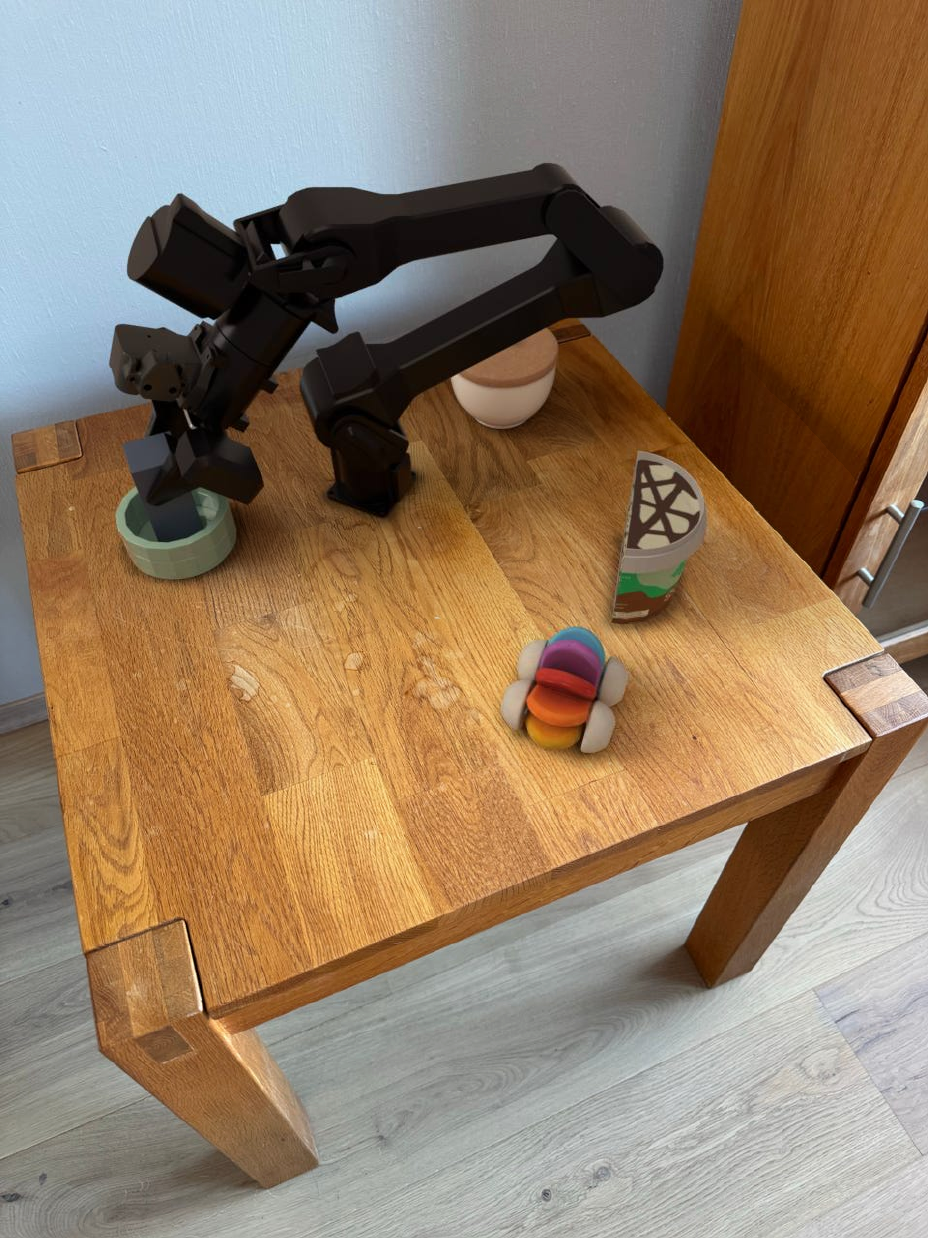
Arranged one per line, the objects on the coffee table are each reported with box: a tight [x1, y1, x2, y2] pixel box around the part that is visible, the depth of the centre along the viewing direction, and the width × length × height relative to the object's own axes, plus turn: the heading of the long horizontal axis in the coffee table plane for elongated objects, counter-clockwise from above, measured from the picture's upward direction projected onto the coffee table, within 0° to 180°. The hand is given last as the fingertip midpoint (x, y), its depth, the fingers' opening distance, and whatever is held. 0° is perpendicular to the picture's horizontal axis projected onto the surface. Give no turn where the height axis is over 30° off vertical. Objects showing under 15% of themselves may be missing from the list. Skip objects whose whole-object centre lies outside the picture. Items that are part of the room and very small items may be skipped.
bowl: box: [115, 485, 238, 581], centre depth 82 cm, size 10×10×4 cm
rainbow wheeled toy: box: [500, 625, 630, 754], centre depth 68 cm, size 8×10×7 cm
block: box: [121, 431, 203, 542], centre depth 79 cm, size 4×4×10 cm
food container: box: [610, 450, 708, 625], centre depth 75 cm, size 12×6×10 cm, turn 168°
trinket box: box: [450, 327, 559, 430], centre depth 91 cm, size 11×11×9 cm
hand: (146, 486), depth 77 cm, fingers closed on block, 4 cm apart
